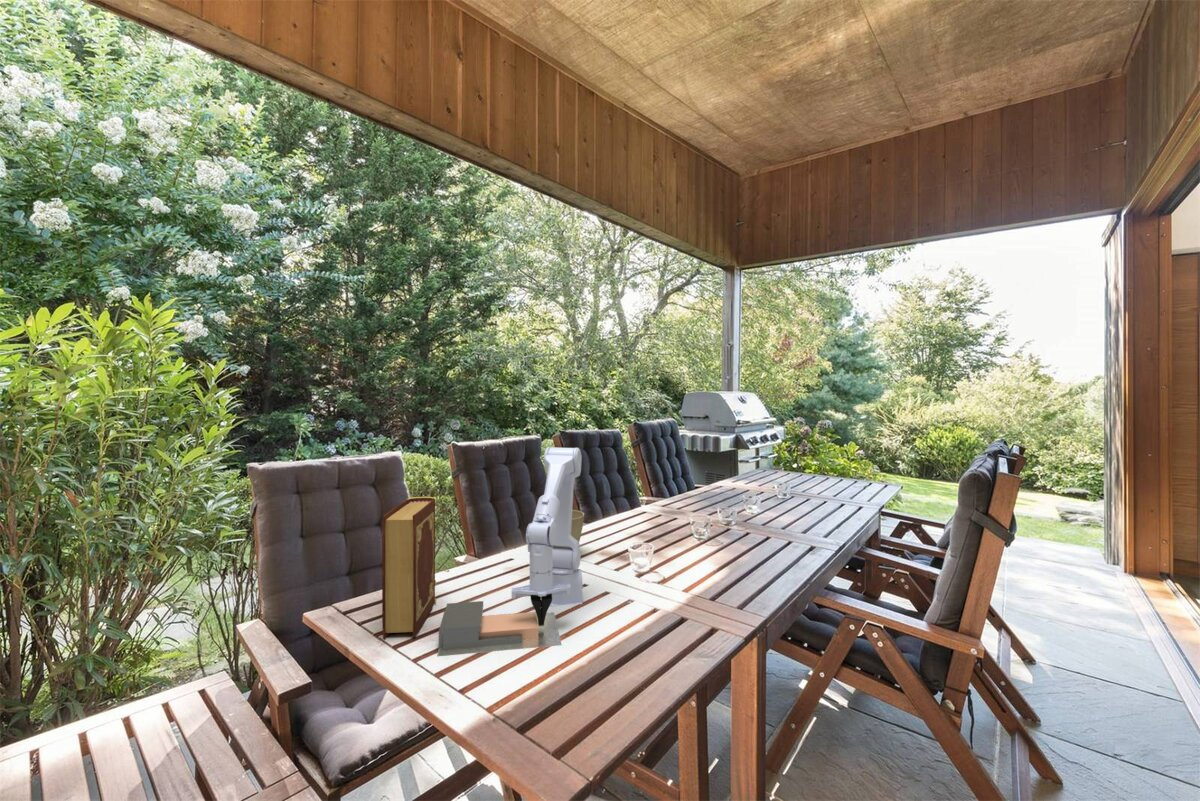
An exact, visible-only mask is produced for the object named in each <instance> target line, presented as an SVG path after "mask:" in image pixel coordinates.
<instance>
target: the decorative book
mask: <svg viewBox="0 0 1200 801" xmlns="http://www.w3.org/2000/svg"><path fill="white" fill-rule="evenodd" d="M436 504H437V498H436V497H434V496H433V497H432V496H414V497H408V498H406V499H405V500H404V501H402V502H401V503H399V504H398V505H397V506H395V507H393V508H392V509H390V510H389V511H387V512H386V513H385V514H384V515H383V518H382V530H381V531H382V533H381V536H382V537H381V540H382V542H381V550H382V551H381V555H382V556H381V559H382V560H381V568H382V569H381V571H382V572H381V576H382V578H381V580H382V581H381V585H382V586H381V590H382V591H381V594H382V596H381V598H382V599H381V600H382V601H381V602H382V604H381V605H382V606H381V610H382V611H381V616H382V617H381V618H382V621H381V622H382V637H383V638H382V639H383V640H384V641H385V640H386V639H387V636H388V635H389V634H393V633H395V634H396V633H397V634H398V633H412V639H413V638H414V637H415V638H416V636H417V635H418V634H417V633H419V632H420V631H419V630H421V629H422V627H423V625H424V624H425V621H426V620H427V619H428V617H429V615H430V614H431V612H432V610H433V608H434V606H435V605H436V604H437V598H436V585H437V580H436V570H437V565H436V536H437V532H436V522H437V517H436ZM415 638H414V639H415Z"/></svg>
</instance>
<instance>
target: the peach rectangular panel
mask: <svg viewBox="0 0 1200 801" xmlns="http://www.w3.org/2000/svg"><path fill="white" fill-rule="evenodd" d="M490 615H491V614H490ZM515 634H522V639H530V638H538V622H537V616H536V611H532V612H531V611H529V612H516V614H514V613H506V614H505V613H504V614H503V615H501V614H492V615H491V616H488V615H482V625H481V631H479V638H480V637H492V636H503V635H515Z"/></svg>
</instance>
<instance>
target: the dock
mask: <svg viewBox="0 0 1200 801" xmlns="http://www.w3.org/2000/svg"><path fill="white" fill-rule="evenodd" d="M483 611H484V600H481V601H480V600H479V601H467V602H466V601H465V602H451V603H450V602H449V603H446V607H445V610H444V611H443V615H442V618H441V621H440V622H441V623H440V626H439V630H438V651H437V653H436V657H446V656H457V655H469V654H479V653H480V654H482V653H492V652H500V651H501V652H502V651H512V650H514V651H515V650H524V649H525V650H526V649H536V648H545V647H557V646H562V641H561V637H560V636H561V635H560V632H559V627H558V623H557V619H556V615H555V612H554V611H553V612H552V611H551V612H547V613H546V617H545V621H544V626H539V625H538V638H530V639H522V634H515V635H503V636H492V637H480V638H479V631H481V625H482V616H483V613H484V612H483ZM516 613H517V612H516ZM516 613H513V614H516ZM500 615H503V614H500ZM487 616H491V614H490V615H487ZM536 616H537V614H536ZM537 622H538V618H537Z"/></svg>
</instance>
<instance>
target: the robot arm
mask: <svg viewBox="0 0 1200 801" xmlns="http://www.w3.org/2000/svg"><path fill="white" fill-rule="evenodd" d="M582 458H583V457H582V452H581V449H580V448H579V447H554V446H548V447H546V449H545V450H544V454H543V464H544V467H545V471H546V473H547V475H546V480H545V486H544V491H543V492H544V493H543V495H541V496H540V497H539V498H538V500H537V504H536V507H535V511H534V516H533V518H532V521H531V522H530V523H528V525H527V526H526V527H527V528H526V531H525V541H526V544H527V545H526V546H527V552H529V584H527V585H523V586H517V587H511V599H517V598H523V597H530V602H531V604H532V607H533V609H534V610H535V611H534V612H536V614H537V618H538V625H539V626H544V621H545V617H546V613H548V611H549V608H550V607H559V606H560V607H562V606H571V605H572V606H573V605H582V604H583V573H582V569H580V565H581V558H582V556H581V544H580V541H579V542H578V541H577V540H576V539H575V538H574V537H572V536H571V525H572V510H573V505H574V504H573V503H574V502H573V501H574V486H575V480H576V478H578V477H580V476H581V473H582V472H581V471H582ZM554 545H557V546H569V547H571V548H569V547H555V546H554Z"/></svg>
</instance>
